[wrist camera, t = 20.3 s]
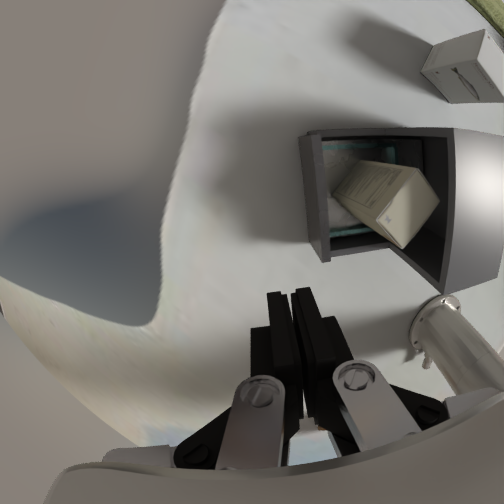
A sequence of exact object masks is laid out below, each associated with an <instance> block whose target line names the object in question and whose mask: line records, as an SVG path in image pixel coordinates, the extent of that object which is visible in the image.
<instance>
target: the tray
mask: <svg viewBox="0 0 504 504" xmlns="http://www.w3.org/2000/svg"><path fill="white" fill-rule="evenodd" d="M298 140H299V148H300V155H301V164H302V172H303V181H304V190H305V200H306V210H307V221H308V233H309V242H310V244H311V245H312V247H313V249H314V250H315V252H316V254H317V255H318V257H319V258H320V260H321V262H322V263H324V262H330V261H331V254H330V238H331V237H338V236H345V235H352V234H359V233H366V232H374V231H375V230H373V229H372V228H370V227H369V226H367V225H366V224H364V223H363V222H361V221H360V220H358V219H357V218H355V217H353V216H352V215H351V214H350V213H349V212H348V211H347V210H346V209H345V208H343V207H342V206H341V205H340V204H339V203H338V202H337V201H336V200H335V199H334V198H333V196H332V194H333V193H334V192H335V190H336V189H337V188H338V186H339V185H340V184H341V183H342V181H343V180H344V179H345V178H346V177H347V175H348V174H349V173H350V172H351V171H352V170H353V168H354V167H355V166H356V165H357V164H358V163H359V162H360V161H361V160H365V161H374V162H381V163H388V164H395V165H401V166H407V167H413V168H418V169H419V170H420V171H421V173H422V174H423V154H422V140H411V139H363V140H338V141H321V134H319V135H308V136H301V137H298Z"/></svg>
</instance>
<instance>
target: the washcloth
mask: <svg viewBox="0 0 504 504" xmlns="http://www.w3.org/2000/svg"><path fill="white" fill-rule="evenodd" d="M467 1H468V2H469V3H470V4H471V5H472V6H473V7H474V8H475V9H476V10H477V11H479V12H480V13H481V15H483V16H484V18H486V19H487V21H489V22H490V24H491V25H492V26H493V27H494V28H495V29H496V30H497V31H498V32H499V33H500V34H501V36H502V37H503V38H504V3H503V2H502V1H501V0H467Z"/></svg>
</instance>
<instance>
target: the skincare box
mask: <svg viewBox="0 0 504 504" xmlns="http://www.w3.org/2000/svg"><path fill="white" fill-rule="evenodd" d="M332 196H333V198H334V199H335V200H336V201H337V202H338V203H339V204H340V205H341V206H342V207H343V208H345V209H346V210H347V211H348V212H349V213H350V214H351V215H352V216H353V217H355V218H357V219H358V220H360V221H361V222H363V223H364V224H366V225H367V226H369V227H370V228H372V229H373V230H375V231H376V232H377V233H379V234H380V235H382V236H383V237H385V238H386V239H388V240H389V241H391V242H392V243H394V244H395V245H396V246H398V247H399V248H401V249H403V248H404V247H405V246H406V245H407V244H408V243H409V242H410V241H411V239H412V238H413V237H414V236H415V235H416V233H417V232H418V231H419V230H420V228H421V227H422V226H423V224H424V223H425V222H426V220H427V219H428V218H429V216H430V215H431V214H432V212H433V211H434V209H435V208H436V206H437V205H438V203H439V202H440V200H439V198H438V197H437V195H436V194H435V192H434V190H433V189H432V187H431V186H430V184H429V183H428V181H427V180H426V178H425V177H424V176H423V174H422V173H421V171H420V170H419V169H418V168H413V167H407V166H401V165H395V164H388V163H381V162H374V161H365V160H361V161H360V162H359V163H358V164H357V165H356V166H355V167H354V168H353V170H352V171H351V172H350V173H349V174H348V175H347V177H346V178H345V179H344V180H343V181H342V183H341V184H340V185H339V186H338V188H337V189H336V190H335V192H334V193H333V194H332Z"/></svg>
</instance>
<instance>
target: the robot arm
mask: <svg viewBox="0 0 504 504" xmlns="http://www.w3.org/2000/svg"><path fill="white" fill-rule="evenodd" d="M267 301H268V311H269V321H270V326H264V327H256V328H251V377H250V378H248V379H246V380H244V381H243V382H242V383H241V384H240V385H239V386H238V387H237V389H236V391H235V395H234V398H233V402H232V406H231V407H230V408H228V409H227V410H226V411H224V412H223V413H222V414H220V415H219V416H218V417H216V418H215V419H214V420H212V421H211V422H210V423H208V424H207V425H205V426H204V427H203V428H201V429H200V430H198V431H197V432H196V433H194V434H193V435H191V436H190V437H188V438H187V439H185V440H184V441H183V442H181V443H180V444H179V445H178V446H175V447H170V446H169V445H161V446H150V447H137V448H118V449H113V450H111V451H109V452H107V453H106V455H105V456H104V457H103V460H102V462H90V463H83V464H78V465H74V466H71V467H68V468H67V469H65V470H63V471H62V472H61V473H60V474H59V475H58V477H57V478H56V479H55V481H54V482H53V484H52V486H51V488H50V490H49V492H48V494H47V496H46V499H45V501H44V503H43V504H504V361H503V359H502V358H501V357H500V356H499V355H498V353H497V352H496V351H495V350H494V349H493V348H492V347H491V345H490V344H489V343H488V342H487V341H486V340H485V339H484V338H483V337H482V335H481V334H480V333H479V332H478V331H477V330H476V329H475V328H474V327H473V326H472V325H471V324H470V323H469V322H468V321H467V320H466V319H465V318H464V317H463V315H462V314H461V305H460V302H459V300H458V299H457V298H456V297H454V296H453V295H450V294H447V295H444V296H443V295H441V296H439V297H437V298H435V299H433V300H432V301H430V302H429V303H428V304H427V305H426V306H425V307H424V308H423V309H422V310H421V311H420V312H419V314H418V315H417V316H416V318H415V320H414V322H413V324H412V326H411V329H410V334H409V338H410V342H411V344H412V345H413V347H414V348H416V349H418V350H423V351H424V352H425V354H424V356H425V359H424V361H423V364H422V367H423V368H424V369H429V368H430V365H431V363H432V360H433V361H434V363H435V364H436V366H437V367H438V369H439V370H440V371H441V373H442V374H443V376H444V377H445V379H446V380H447V382H448V384H449V385H450V387H451V388H452V390H453V391H454V393H455V394H456V396H452V397H448V398H445V399H444V401H442V402H440V401H438V400H436V399H434V398H431V397H428V396H424V395H421V394H418V393H415V392H412V391H409V390H406V389H403V388H400V387H397V386H394V385H391V384H389V383H388V382H387V381H386V379H385V378H384V376H383V375H382V374H381V372H380V371H379V370H378V368H377V367H376V366H375V365H374V364H372V363H370V362H368V361H364V360H354V359H353V356H352V354H351V351H350V349H349V347H348V344H347V342H346V340H345V338H344V335H343V333H342V331H341V328H340V326H339V324H338V322H337V320H336V318H335V316H330V317H325V318H322V317H321V315H320V312H319V309H318V307H317V304H316V302H315V299H314V296H313V294H312V291H311V289H310V287H305V288H299V289H296V293H291V304H292V315H293V320H292V316H291V311H290V307H289V303H288V298H287V294H283V295H281V291H278V292H270V293H267ZM303 392H304V398H305V403H306V409H307V414H308V418H310V417H314V421H315V425H316V424H318V426H320V427H322V428H324V429H326V430H328V436H329V438H330V440H331V443H332V445H333V447H334V450H335V452H336V454H337V457H338V458H334V459H329V460H324V461H319V462H313V463H307V464H300V465H293V466H288V464H289V453H290V438H291V437H292V436H293V435H294V434H295V433H296V432H297V431H298V430H299V429H300V427H299V419H304V411H303Z"/></svg>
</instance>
